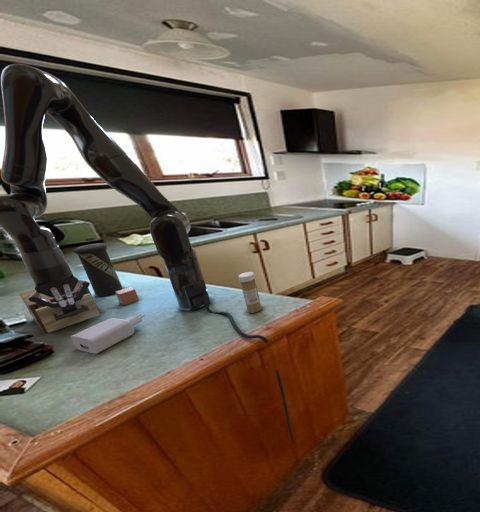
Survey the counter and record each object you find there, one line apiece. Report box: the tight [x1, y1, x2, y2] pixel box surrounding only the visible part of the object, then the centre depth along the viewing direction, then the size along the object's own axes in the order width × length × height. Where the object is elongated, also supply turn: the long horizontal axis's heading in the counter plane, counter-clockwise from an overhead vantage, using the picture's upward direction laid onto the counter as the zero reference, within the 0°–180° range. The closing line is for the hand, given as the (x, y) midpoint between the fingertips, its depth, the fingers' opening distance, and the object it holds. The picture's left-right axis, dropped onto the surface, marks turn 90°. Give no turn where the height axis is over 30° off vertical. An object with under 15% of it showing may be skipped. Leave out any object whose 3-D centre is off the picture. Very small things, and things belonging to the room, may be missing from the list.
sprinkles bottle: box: [238, 271, 262, 314], centre depth 90 cm, size 5×5×14 cm
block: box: [114, 286, 140, 306], centre depth 101 cm, size 4×4×4 cm
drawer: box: [36, 292, 101, 334], centre depth 88 cm, size 19×12×8 cm, turn 59°
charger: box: [70, 314, 146, 355], centre depth 80 cm, size 5×9×15 cm
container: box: [73, 242, 124, 297], centre depth 106 cm, size 9×9×20 cm
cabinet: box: [19, 283, 101, 334], centre depth 91 cm, size 16×13×10 cm
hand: (72, 315), depth 84 cm, fingers closed
